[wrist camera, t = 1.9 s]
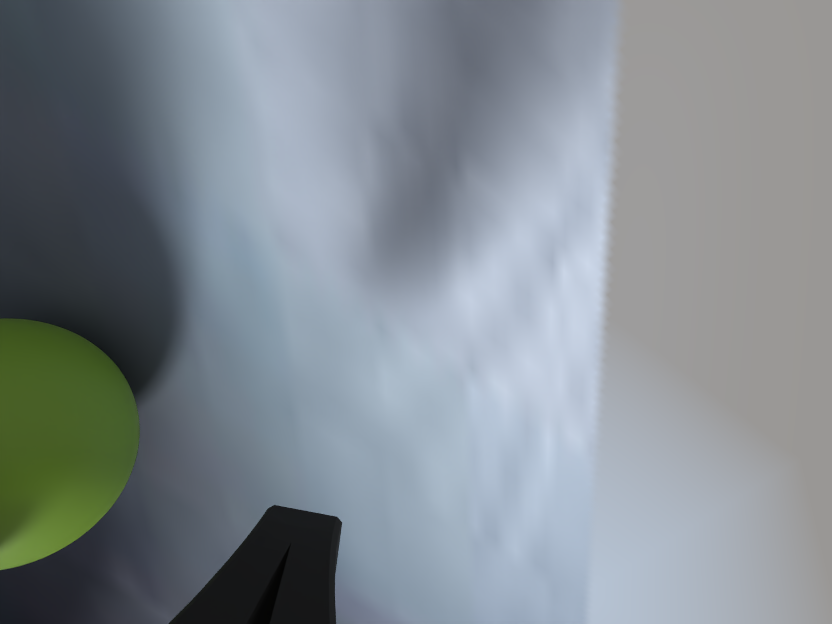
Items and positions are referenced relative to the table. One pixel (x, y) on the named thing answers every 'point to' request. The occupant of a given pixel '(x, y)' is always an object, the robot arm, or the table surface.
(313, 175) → the table surface
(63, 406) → the snail figurine
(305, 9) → the table surface
